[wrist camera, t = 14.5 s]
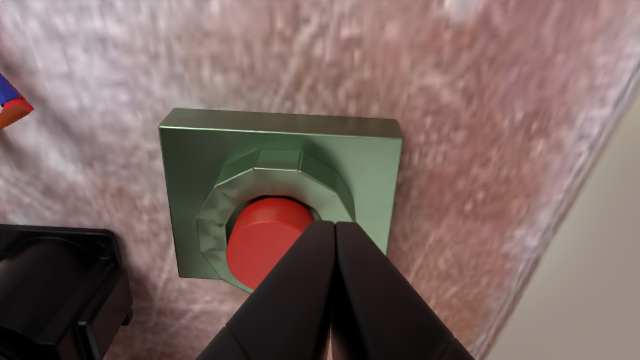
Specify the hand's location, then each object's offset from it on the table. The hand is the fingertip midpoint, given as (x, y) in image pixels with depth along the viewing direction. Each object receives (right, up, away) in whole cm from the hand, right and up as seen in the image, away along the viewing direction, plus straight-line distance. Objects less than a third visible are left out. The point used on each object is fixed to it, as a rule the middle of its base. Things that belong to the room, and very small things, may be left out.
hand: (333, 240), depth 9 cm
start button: (-2, -1, +10) cm, 11 cm away
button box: (-2, +1, +13) cm, 14 cm away
